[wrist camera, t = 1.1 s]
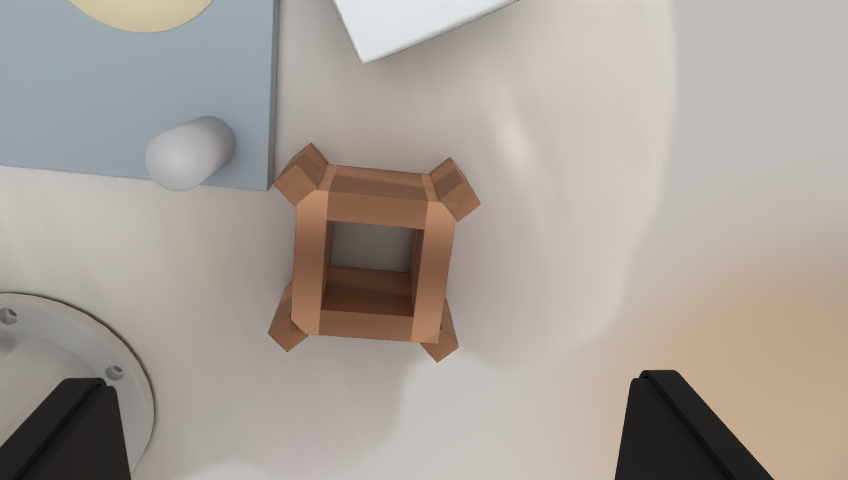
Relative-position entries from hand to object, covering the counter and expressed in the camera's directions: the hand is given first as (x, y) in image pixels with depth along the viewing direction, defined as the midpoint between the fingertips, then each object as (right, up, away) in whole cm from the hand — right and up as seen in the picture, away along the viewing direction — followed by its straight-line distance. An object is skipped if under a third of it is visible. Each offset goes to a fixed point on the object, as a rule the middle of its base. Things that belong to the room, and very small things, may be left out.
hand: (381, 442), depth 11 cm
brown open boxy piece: (-2, +4, +18) cm, 19 cm away
